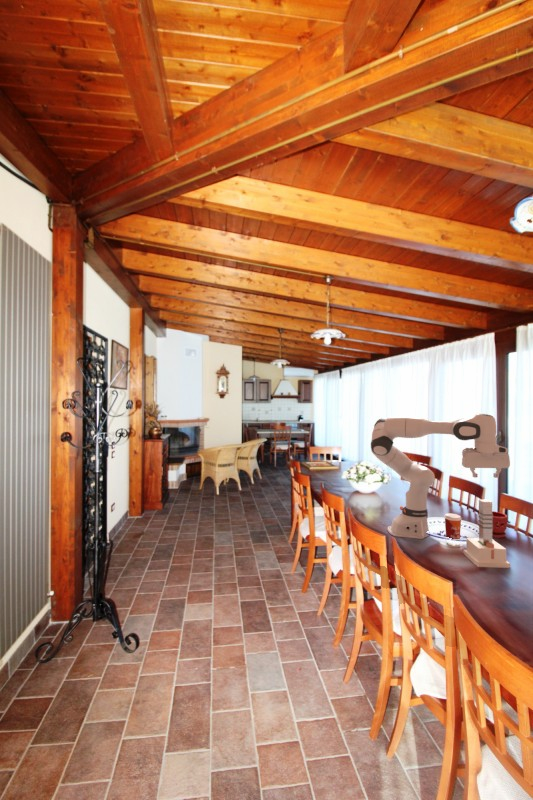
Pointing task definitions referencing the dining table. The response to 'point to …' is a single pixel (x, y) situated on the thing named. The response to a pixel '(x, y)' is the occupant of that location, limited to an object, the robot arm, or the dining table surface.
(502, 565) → the sleeve stand
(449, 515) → the coffee cup
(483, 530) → the column
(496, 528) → the plant pot
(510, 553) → the dining table surface
